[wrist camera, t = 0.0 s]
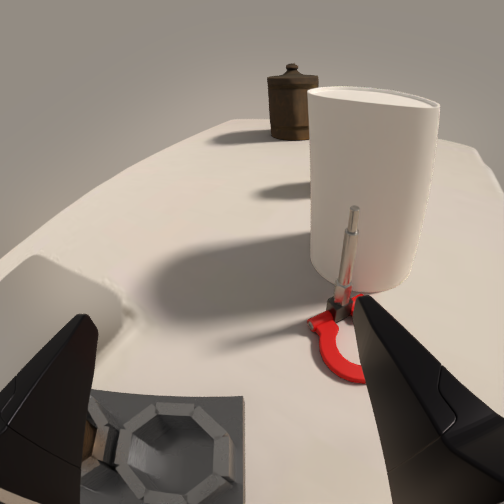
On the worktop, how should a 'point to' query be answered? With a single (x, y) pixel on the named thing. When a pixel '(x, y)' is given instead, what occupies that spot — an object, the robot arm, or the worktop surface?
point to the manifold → (163, 450)
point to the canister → (369, 179)
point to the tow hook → (340, 308)
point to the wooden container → (290, 104)
